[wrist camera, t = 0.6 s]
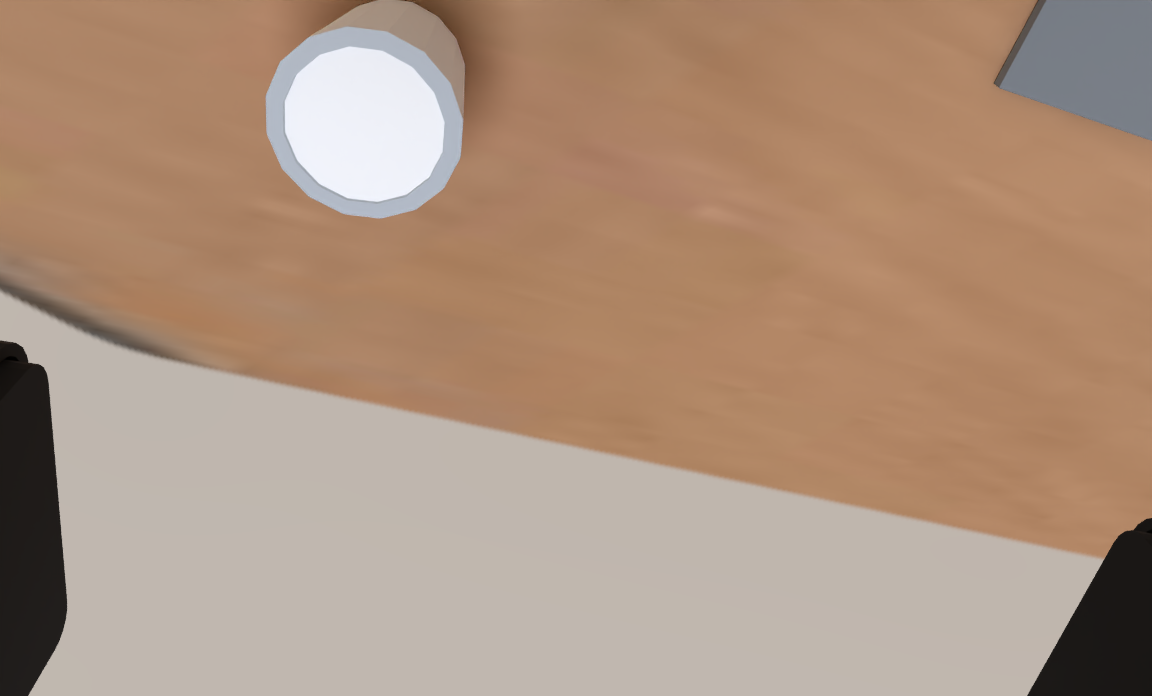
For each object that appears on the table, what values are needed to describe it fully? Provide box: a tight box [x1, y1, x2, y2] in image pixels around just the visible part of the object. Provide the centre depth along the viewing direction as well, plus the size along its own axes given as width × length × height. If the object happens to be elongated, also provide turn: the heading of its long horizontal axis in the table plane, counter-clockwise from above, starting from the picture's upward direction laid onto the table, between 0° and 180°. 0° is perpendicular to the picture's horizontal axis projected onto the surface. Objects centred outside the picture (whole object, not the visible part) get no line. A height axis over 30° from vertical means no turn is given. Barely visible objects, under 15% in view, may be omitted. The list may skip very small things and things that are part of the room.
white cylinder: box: [266, 0, 465, 218], centre depth 39 cm, size 7×7×7 cm
